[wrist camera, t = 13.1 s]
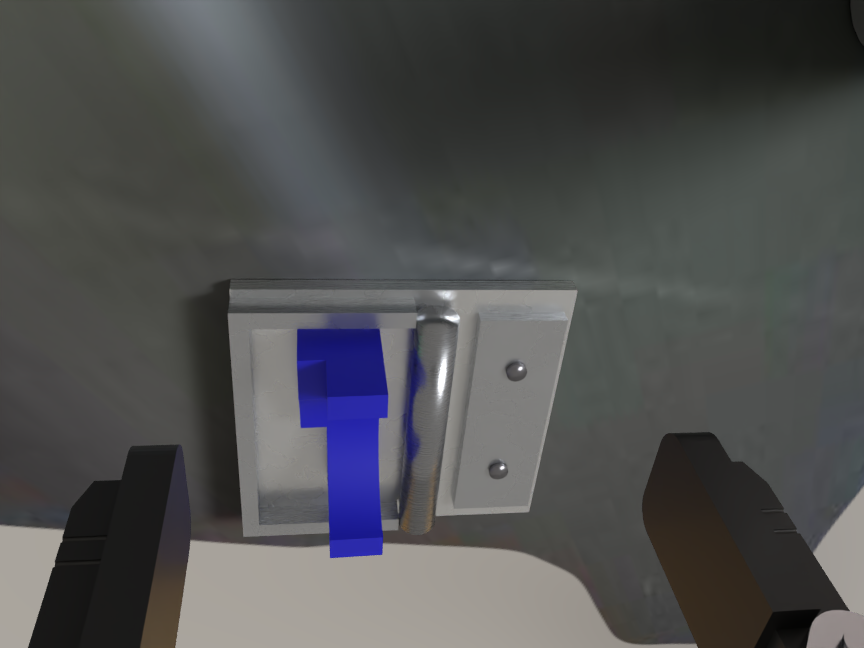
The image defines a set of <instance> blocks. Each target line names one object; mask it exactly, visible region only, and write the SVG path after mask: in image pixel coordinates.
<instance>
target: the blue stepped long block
mask: <svg viewBox="0 0 864 648" xmlns="http://www.w3.org/2000/svg"><path fill="white" fill-rule="evenodd" d="M297 377H298V400H299V408H300V426H301V428H316V427H327V474H328V509H329V539H330V558H338V557H353V556H369V555H382V548H383V547H382V546H383V533H382V521H381V506H380V487H379V418H388V388H387V380H386V373H385V365H384V358H383V350H382V343H381V335H380V329H297Z"/></svg>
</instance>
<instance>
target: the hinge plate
mask: <svg viewBox="0 0 864 648" xmlns="http://www.w3.org/2000/svg"><path fill="white" fill-rule="evenodd" d="M577 291H578V290H577V288H576V286H575V284H574V282H573V281H487V280H239V279H231V281H230V288H229V292H230V300H229V307H228V325H229V339H230V353H231V367H232V381H233V395H234V409H235V423H236V437H237V451H238V465H239V479H240V493H241V507H242V521H243V535H244V537H248V536H271V535H294V534H317V533H329V509H328V474H327V427H316V428H301V426H300V408H299V400H298V377H297V329H380V335H381V343H382V350H383V358H384V365H385V373H386V380H387V388H388V418H379V487H380V506H381V521H382V531H385V530H398V525H400V527H401V528H402V529H403V530H404V531H405V532H407V533H410V534H414V535H421V534H425V533H427V532H429V531H430V530H431V529H432V528H433V526H434V523H435V516H445V515H469V514H493V513H517V512H529V509H530V505H531V500H532V496H533V491H534V486H535V482H536V477H537V473H538V468H539V464H540V459H541V455H542V450H543V446H544V441H545V437H546V432H547V427H548V423H549V418H550V414H551V409H552V405H553V400H554V396H555V391H556V387H557V382H558V377H559V373H560V368H561V364H562V359H563V355H564V350H565V346H566V341H567V337H568V332H569V328H570V323H571V318H572V314H573V309H574V305H575V300H576V296H577Z"/></svg>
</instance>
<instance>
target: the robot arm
mask: <svg viewBox="0 0 864 648" xmlns="http://www.w3.org/2000/svg"><path fill="white" fill-rule="evenodd" d="M850 8H851V15H852V22H853V26H854V29H855V31H856V34H857V36H858V38H859V41H860V42H861V43H862V44H863V46H864V0H851V3H850ZM783 509H784V508H783V506H782V505H781V503H780V502H779V500H778V498H777V497H776V495H775V494H774V492H773V491H772V489H771V488H770V486H769V484H768V483H767V482H766V481H765V480H763V479H762V478H761V477H760V476H759V475H758V474H756V473H755V472H754V471H753V470H752V469H751V468H749V467H748V466H747V465H746V464H745V463H744V462H732V461H731V460H730V458H729V457H728V455H727V453H726V452H725V450H724V448H723V447H722V445H721V443H720V442H719V440H718V439H717V437H716V436H715V435H714V434H712V433H710V432H699V433H668V434H666V435H665V436H664V437H663V439H662V441H661V443H660V446H659V449H658V452H657V455H656V458H655V461H654V465H653V468H652V471H651V474H650V477H649V480H648V483H647V486H646V489H645V492H644V495H643V502H642V513H643V520H644V525H645V528H646V531H647V534H648V536H649V538H650V540H651V543H652V545H653V547H654V549H655V552H656V554H657V556H658V558H659V561H660V563H661V565H662V567H663V570H664V572H665V574H666V577H667V579H668V581H669V583H670V586H671V588H672V590H673V592H674V595H675V597H676V599H677V601H678V604H679V606H680V608H681V610H682V613H683V615H684V617H685V619H686V622H687V624H688V626H689V628H690V631H691V633H692V635H693V637H694V640H695V642H696V644H697V646H698V648H864V616H863V615H860V614H858V613H854V612H850V610H849V609H848V608H847V607H846V605H845V603H844V602H843V600H842V599H841V597H840V595H839V594H838V592H837V591H836V589H835V588H834V586H833V584H832V583H831V581H830V580H829V578H828V577H827V575H826V574H825V572H824V570H823V569H822V567H821V566H820V564H819V563H818V561H817V560H816V558H815V556H814V555H813V553H812V552H811V550H810V548H809V547H808V545H807V544H806V542H805V541H804V539H803V538H802V536H801V534H797V532H796V529H797V528H796V527H795V525H794V523H793V522H792V520H791V519H790V517H789V516H788V514H787V513H784V511H783ZM190 534H191V517H190V506H189V498H188V490H187V481H186V473H185V465H184V457H183V451H182V447H181V445H152V446H132V447H131V448H130V450H129V452H128V456H127V460H126V464H125V467H124V471H123V475H122V479H121V480H113V481H94V482H93V483H92V484H91V485H90V487H89V488H88V489H87V490H86V491H85V492H84V494H83V495H82V496H81V497H80V498H79V499H78V501H77V502H76V503H75V504H74V505H73V507H72V508H71V511H70V515H69V518H68V521H67V524H66V527H65V531H64V534H63V541H62V543H61V544H60V547H59V550H58V553H57V557H56V560H55V567H54V568H53V569H52V573H51V576H50V579H49V582H48V586H47V589H46V592H45V595H44V598H43V601H42V605H41V608H40V611H39V614H38V617H37V621H36V624H35V627H34V630H33V634H32V637H31V640H30V643H29V647H28V648H175V645H176V638H177V631H178V623H179V618H180V610H181V604H182V597H183V589H184V583H185V576H186V569H187V563H188V556H189V548H190Z"/></svg>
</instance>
